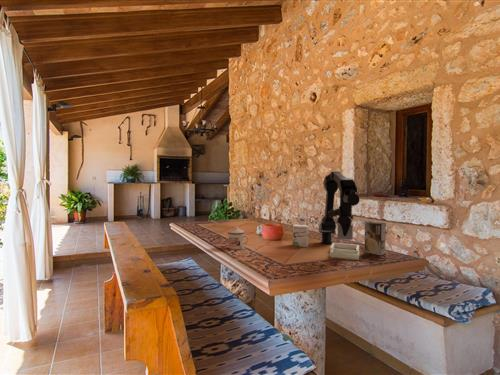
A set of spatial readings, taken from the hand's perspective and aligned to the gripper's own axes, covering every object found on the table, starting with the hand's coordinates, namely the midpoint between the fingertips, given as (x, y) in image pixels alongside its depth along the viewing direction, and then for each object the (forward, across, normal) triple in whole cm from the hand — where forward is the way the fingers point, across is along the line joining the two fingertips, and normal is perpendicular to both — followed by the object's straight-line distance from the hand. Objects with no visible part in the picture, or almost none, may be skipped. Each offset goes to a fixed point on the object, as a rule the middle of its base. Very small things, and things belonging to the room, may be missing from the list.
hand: (345, 235), depth 159 cm
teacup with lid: (+11, +4, -56) cm, 57 cm away
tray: (+11, 0, 0) cm, 11 cm away
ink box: (+11, -16, -26) cm, 32 cm away
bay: (+11, -13, -1) cm, 17 cm away
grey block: (+2, 0, 0) cm, 2 cm away
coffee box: (+11, -14, +14) cm, 23 cm away
